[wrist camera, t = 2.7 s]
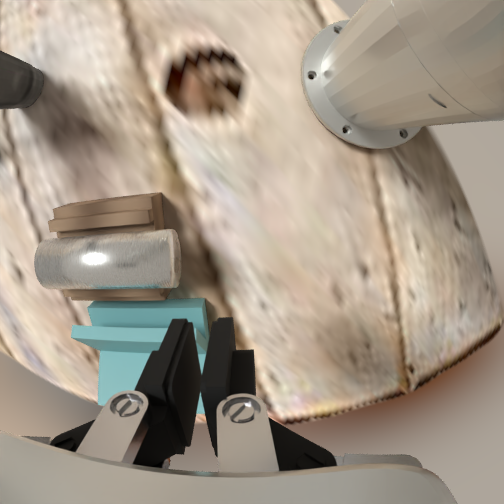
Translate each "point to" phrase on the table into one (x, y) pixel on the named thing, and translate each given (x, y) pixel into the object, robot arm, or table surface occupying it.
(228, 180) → the table surface
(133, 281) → the axle
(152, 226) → the tan stepped block
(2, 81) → the beverage cup
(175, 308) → the v block
